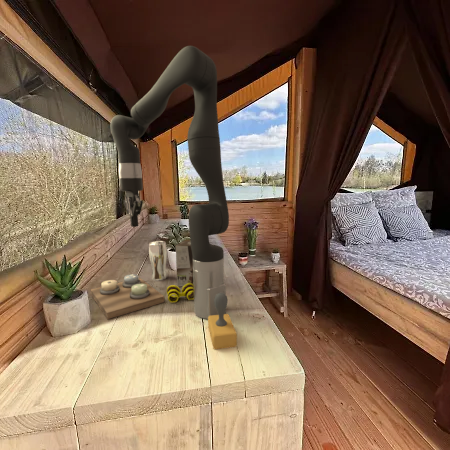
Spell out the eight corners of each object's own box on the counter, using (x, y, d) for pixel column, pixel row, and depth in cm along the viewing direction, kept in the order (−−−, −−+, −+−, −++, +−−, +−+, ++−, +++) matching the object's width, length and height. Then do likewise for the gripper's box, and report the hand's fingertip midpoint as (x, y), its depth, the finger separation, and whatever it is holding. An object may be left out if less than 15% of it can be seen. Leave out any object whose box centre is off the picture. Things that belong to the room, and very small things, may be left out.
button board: (164, 301, 91) (163, 293, 90) (107, 319, 80) (106, 309, 79) (140, 282, 108) (139, 275, 107) (91, 294, 97) (90, 286, 97)
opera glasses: (168, 306, 90) (167, 293, 88) (166, 296, 95) (166, 284, 93) (197, 301, 93) (197, 289, 91) (193, 293, 97) (194, 281, 96)
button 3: (140, 282, 100) (140, 276, 100) (126, 285, 97) (126, 279, 97) (135, 278, 104) (135, 272, 104) (122, 281, 101) (122, 275, 101)
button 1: (119, 288, 94) (118, 282, 94) (103, 292, 92) (103, 286, 91) (114, 284, 98) (114, 278, 98) (100, 287, 95) (99, 281, 95)
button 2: (149, 292, 91) (149, 286, 90) (134, 296, 88) (134, 290, 87) (144, 287, 95) (143, 282, 94) (129, 291, 92) (129, 285, 91)
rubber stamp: (208, 327, 75) (207, 286, 73) (228, 325, 76) (228, 284, 74) (213, 349, 65) (212, 303, 63) (236, 346, 66) (236, 300, 64)
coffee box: (192, 287, 102) (191, 245, 100) (176, 286, 104) (174, 245, 101) (199, 278, 111) (198, 240, 109) (184, 277, 113) (183, 239, 110)
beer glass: (146, 279, 111) (144, 243, 109) (158, 274, 117) (156, 240, 115) (160, 282, 108) (158, 245, 106) (171, 276, 114) (169, 241, 112)
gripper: (148, 176, 91) (152, 227, 94) (134, 177, 102) (138, 223, 104) (126, 176, 87) (130, 230, 89) (113, 177, 97) (118, 225, 100)
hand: (134, 226), depth 97 cm, fingers closed
